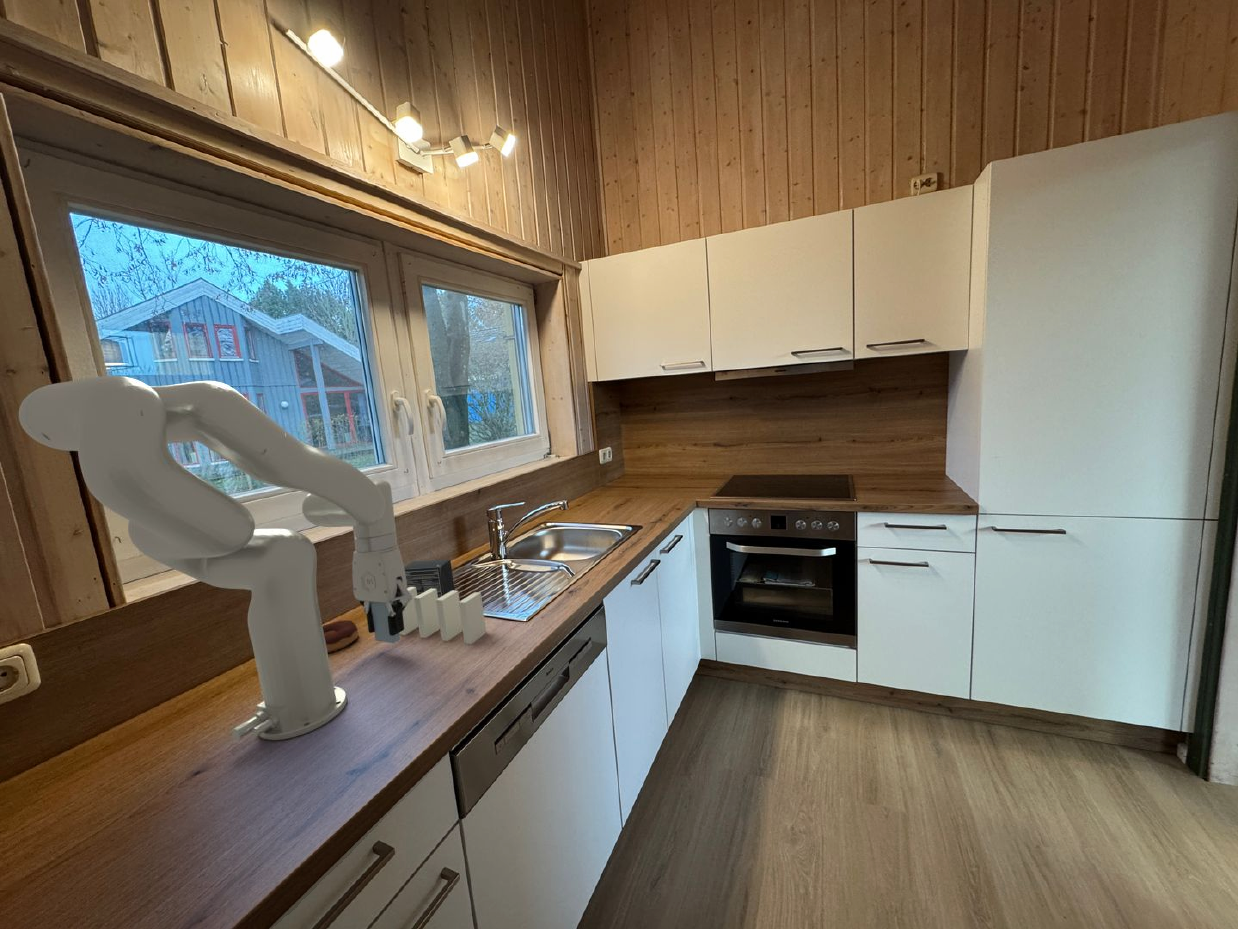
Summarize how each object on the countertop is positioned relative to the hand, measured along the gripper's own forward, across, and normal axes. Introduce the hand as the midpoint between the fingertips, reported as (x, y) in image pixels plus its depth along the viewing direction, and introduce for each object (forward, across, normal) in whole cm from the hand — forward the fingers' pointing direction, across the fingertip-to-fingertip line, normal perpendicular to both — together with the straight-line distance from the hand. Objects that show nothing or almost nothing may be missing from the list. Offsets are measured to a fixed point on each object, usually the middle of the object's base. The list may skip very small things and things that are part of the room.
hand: (386, 630), depth 100 cm
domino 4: (+4, +8, +10) cm, 13 cm away
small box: (+4, -10, +23) cm, 25 cm away
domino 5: (+4, +14, +10) cm, 17 cm away
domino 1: (+2, 0, 0) cm, 2 cm away
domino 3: (+4, +2, +10) cm, 11 cm away
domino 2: (+4, -4, +10) cm, 12 cm away
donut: (+5, -17, 0) cm, 18 cm away
